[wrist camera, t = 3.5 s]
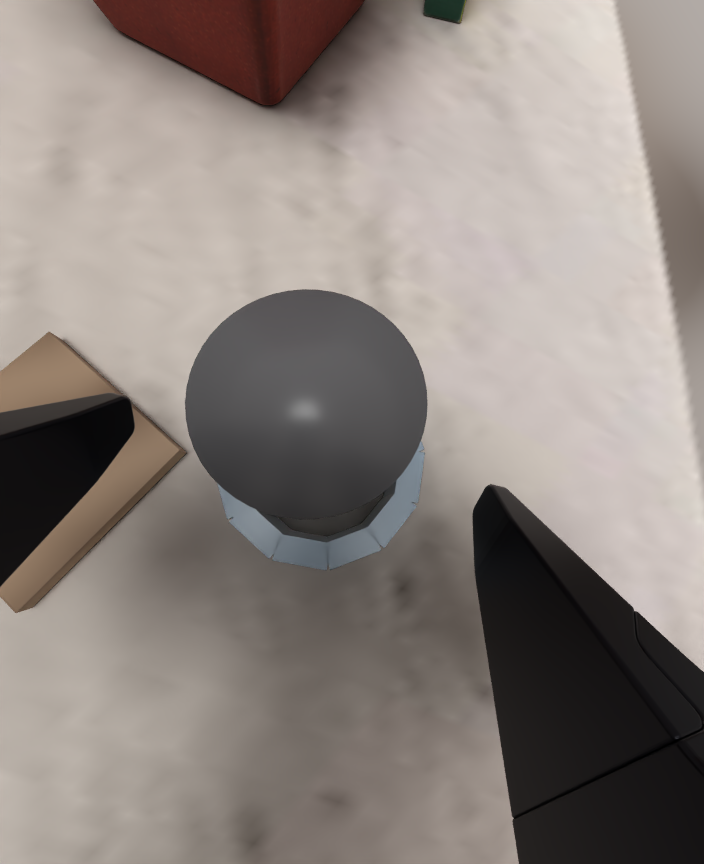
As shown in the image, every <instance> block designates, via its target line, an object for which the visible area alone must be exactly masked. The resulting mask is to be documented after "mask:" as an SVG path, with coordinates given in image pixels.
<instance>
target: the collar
mask: <svg viewBox="0 0 704 864" xmlns="http://www.w3.org/2000/svg"><path fill="white" fill-rule="evenodd" d="M422 450H424V447H423V444H422V442H421V441H420V444H419V447H418V449H417V451H416V453H415V455H414V457H413V459H412V460H411V462H410V463H409V465H408V466H407V468H406V469H405V471H404V472H403V473H402V475H401V476H400V477H399V478H398V479H397V480H396V481H395V482H394V483H393V484H392V485H391V486H390V487H389V488H388V489H387V490H385V491H384V496H383V498H382V499H381V500H380V501H379V503H378V504H377V505H376V506H375V508H374V509H373V510H372V511H371V513H370V514H369V515H368V516H367V517H366V519H365V520H364V521H363V522H362V524H360V525H357V526H354V527H352V528H349V529H346V530H344V531H341V532H338V533H336V534H333V535H330V536H328V537H327V536H321V535H316V534H310V533H305V532H300V531H294V530H291V529H290V528H289V527H288V526H287V525H286V524H285V523H283V522H282V521H281V520H280V519H279V518H278V517H277V516H275V515H271V514H267V513H264V512H262V511H259V510H257V509H254V508H252V507H249V506H248V505H246V504H244V503H243V502H241V501H239V500H237V499H236V498H234V497H233V496H232V495H231V494H229V493H228V492H227V491H225V490H224V489H223V488H222V487H221V486H220V485H219V484H218V483H217V484H218V488H219V491H220V495H221V499H222V502H223V506H224V510H225V513H226V517H227V519H232V520H231V521H230V522H229V523H230V524H232V525H233V526H234V527H235V528H236V529H237V530H238V531H239V532H240V533H241V534H242V535H244V536H245V537H246V538H247V539H248V540H249V541H250V542H251V543H252V544H253V545H254V546H256V547H257V548H258V549H259V550H260V551H261V552H262V553H263V554H264V555H265V556H266V557H267V558H271V557H272V556H273V555H274V556H273V560H272V561H278V562H283V563H289V564H294V565H299V566H305V567H310V568H316V569H321V570H327V565H329V568H330V570H332V569H334V568H337V567H339V566H342V565H345V564H347V563H350V562H352V561H355V560H357V559H360V558H363V557H365V556H368V555H370V554H373V553H376V552H378V551H381V548H380V546H379V545H381V546H382V547H383V548H385V546H386V545H387V544H388V543H389V541H390V540H391V539H392V537H393V536H394V535H395V534H396V532H397V531H398V530H399V528H400V527H401V526H402V525H403V523H404V522H405V521H406V519H407V518H408V517H409V516H410V514H411V513H412V512H413V510H414V509H415V508H416V507H417V506H416V505H415V504H414V503H418V500H419V492H420V485H421V477H422V470H423V463H424V455H425V453H424V452H421V451H422Z"/></svg>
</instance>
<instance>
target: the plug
mask: <svg viewBox="0 0 704 864" xmlns="http://www.w3.org/2000/svg"><path fill="white" fill-rule="evenodd" d="M185 409H186V421H187V427H188V432H189V436H190V438H191V441H192V444H193V447H194V450H195V451H196V453H197V455H198V457H199V459H200V461H201V463H202V464H203V466H204V467H205V469H206V470H207V471H208V473H209V474H210V476H211V477H212V478H213V479H214V480H215V481H216V482H217V483H218V484H219V485H220V486H221V487H222V488H223V489H224V490H225V491H227V492H228V493H229V494H231V495H232V496H233V497H234V498H236V499H237V500H239V501H241V502H243V503H244V504H246V505H248V506H249V507H252V508H254V509H257V510H259V511H262V512H264V513H267V514H271V515H275V516H279V517H283V518H292V519H319V518H326V517H332V516H336V515H339V514H343V513H346V512H350V511H352V510H354V509H356V508H358V507H361V506H363V505H365V504H367V503H368V502H370V501H371V500H373V499H375V498H376V497H378V496H379V495H381V494H382V493H383V492H384V491H385V490H387V489H388V488H389V487H390V486H391V485H392V484H393V483H394V482H395V481H396V480H397V479H398V478H399V477H400V476H401V475H402V473H403V472H404V471H405V469H406V468H407V466H408V465H409V463H410V462H411V460H412V459H413V457H414V455H415V453H416V451H417V449H418V447H419V444H420V441H421V438H422V435H423V432H424V427H425V423H426V417H427V390H426V384H425V379H424V374H423V372H422V369H421V366H420V363H419V360H418V358H417V356H416V354H415V352H414V350H413V348H412V347H411V345H410V344H409V342H408V341H407V339H406V338H405V336H404V335H403V334H402V333H401V332H400V331H399V329H398V328H397V327H396V326H395V325H394V324H393V323H392V322H391V321H390V320H388V319H387V318H386V317H385V316H384V315H382V314H381V313H380V312H378V311H377V310H375V309H374V308H372V307H370V306H369V305H367V304H365V303H363V302H361V301H359V300H356V299H354V298H351V297H349V296H346V295H342V294H338V293H334V292H329V291H322V290H293V291H285V292H281V293H276V294H272V295H269V296H266V297H263V298H260V299H258V300H256V301H254V302H252V303H250V304H248V305H246V306H244V307H242V308H241V309H239V310H238V311H236V312H235V313H233V314H232V315H231V316H229V317H228V318H227V319H226V320H225V321H223V322H222V323H221V324H220V325H219V326H218V327H217V328H216V329H215V330H214V332H213V333H212V334H211V335H210V336H209V338H208V339H207V341H206V342H205V343H204V345H203V346H202V348H201V350H200V352H199V353H198V355H197V357H196V359H195V362H194V364H193V367H192V369H191V372H190V376H189V380H188V384H187V389H186V400H185Z"/></svg>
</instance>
